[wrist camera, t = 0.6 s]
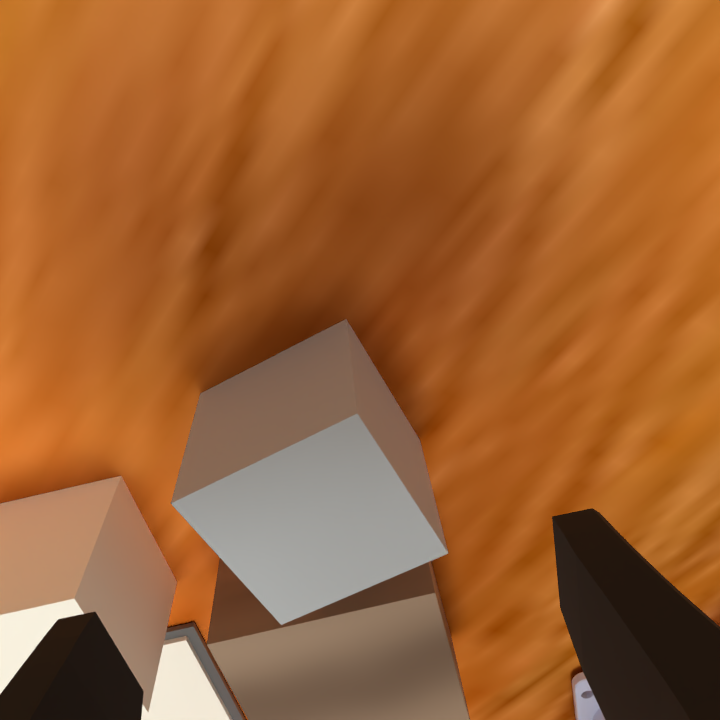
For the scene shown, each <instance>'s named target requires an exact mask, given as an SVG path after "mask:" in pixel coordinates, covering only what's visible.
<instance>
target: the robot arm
mask: <svg viewBox="0 0 720 720" xmlns="http://www.w3.org/2000/svg"><path fill="white" fill-rule="evenodd" d="M552 519H553V531H554V542H555V553H556V565H557V576H558V587H559V598H560V608H561V611H562V614H563V616H564V619H565V622H566V625H567V628H568V631H569V634H570V637H571V640H572V642H573V645H574V648H575V651H576V653H577V656H578V659H579V662H580V665H581V667H582V670H583V672H581V673H578V674H577V675H575V676H574V678H573V679H572V689H573V698H574V707H575V717H576V720H720V627H719V626H718V625H717V624H716V623H715V622H714V621H713V620H711V619H710V618H709V617H708V616H707V615H706V614H705V613H703V612H702V611H701V610H700V609H699V608H698V607H697V606H696V605H694V604H693V603H692V602H691V601H690V600H689V599H688V598H686V597H685V596H684V595H683V594H682V593H681V592H680V591H679V590H677V589H676V588H675V587H674V586H673V585H672V584H671V583H670V582H669V581H668V580H667V579H666V578H664V577H663V576H662V575H661V574H660V573H659V572H658V571H657V570H656V569H655V568H654V567H653V566H652V565H651V564H650V563H649V562H648V561H647V560H646V559H644V558H643V557H642V556H641V555H640V554H639V553H638V552H637V551H636V550H635V549H634V548H633V547H632V546H631V545H630V544H629V543H628V542H627V541H626V540H625V539H624V538H623V537H622V536H621V535H620V534H619V533H618V532H617V531H616V530H615V529H614V527H613V526H612V525H611V524H610V523H609V522H608V521H607V520H606V519H605V518H604V517H603V516H602V515H601V514H600V513H599V512H597V511H596V510H594V509H587V510H582V511H577V512H572V513H568V514H563V515H558V516H553V517H552ZM143 694H144V691H143V689H142V688H141V686H140V684H139V683H138V681H137V679H136V678H135V676H134V674H133V673H132V671H131V669H130V668H129V666H128V664H127V663H126V661H125V660H124V658H123V656H122V655H121V653H120V651H119V650H118V648H117V646H116V645H115V643H114V641H113V640H112V638H111V636H110V635H109V633H108V631H107V630H106V628H105V627H104V625H103V623H102V622H101V620H100V618H99V617H98V615H97V613H96V612H90V613H86V614H81V615H76V616H71V617H66V618H61V619H58V620H57V621H56V622H55V624H54V625H53V626H52V627H51V629H50V630H49V631H48V632H47V634H46V635H45V636H44V637H43V639H42V640H41V641H40V643H39V644H38V645H37V646H36V648H35V649H34V650H33V652H32V653H31V654H30V656H29V657H28V658H27V660H26V661H25V662H24V663H23V665H22V666H21V667H20V669H19V670H18V671H17V673H16V674H15V675H14V677H13V678H12V679H11V681H10V682H9V683H8V685H7V686H6V687H5V689H4V690H3V691H2V693H1V694H0V720H141V716H142V705H143Z"/></svg>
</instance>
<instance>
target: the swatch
mask: <svg viewBox="0 0 720 720" xmlns="http://www.w3.org/2000/svg"><path fill="white" fill-rule="evenodd" d="M141 720H246V719H245V717H244V715H243V713H242V711H241V709H240V707H239V705H238V704H237V702H236V700H235V698H234V696H233V694H232V692H231V690H230V688H229V687H228V685H227V683H226V681H225V679H224V677H223V675H222V673H221V671H220V670H219V668H218V666H217V664H216V662H215V660H214V658H213V656H212V654H211V653H210V651H209V649H208V647H207V645H206V643H205V641H204V639H203V637H202V636H201V634H200V632H199V630H198V628H197V626H196V624H195V622H192V623H188V624H183V625H178V626H174V627H169V628H167V630H166V635H165V639H164V644H163V648H162V653H161V658H160V662H159V667H158V671H157V676H156V680H155V685H154V690H153V694H152V699H151V703H150V708H149V712H148V713H146V714H142V716H141Z"/></svg>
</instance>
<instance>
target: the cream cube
mask: <svg viewBox="0 0 720 720" xmlns="http://www.w3.org/2000/svg"><path fill="white" fill-rule="evenodd" d="M176 584H177V581H176V579H175V577H174V575H173V573H172V571H171V570H170V568H169V566H168V564H167V562H166V560H165V558H164V556H163V554H162V552H161V551H160V549H159V547H158V545H157V543H156V541H155V539H154V537H153V535H152V533H151V531H150V530H149V528H148V526H147V524H146V522H145V520H144V518H143V516H142V514H141V512H140V510H139V509H138V507H137V505H136V503H135V501H134V499H133V497H132V495H131V493H130V491H129V489H128V488H127V486H126V484H125V482H124V480H123V478H122V476H118V477H114V478H109V479H105V480H101V481H96V482H92V483H87V484H83V485H79V486H74V487H70V488H66V489H61V490H57V491H53V492H48V493H44V494H40V495H35V496H31V497H27V498H22V499H18V500H13V501H9V502H5V503H0V694H1V693H2V691H3V690H4V689H5V687H6V686H7V685H8V683H9V682H10V681H11V679H12V678H13V677H14V675H15V674H16V673H17V671H18V670H19V669H20V667H21V666H22V665H23V663H24V662H25V661H26V660H27V658H28V657H29V656H30V654H31V653H32V652H33V650H34V649H35V648H36V646H37V645H38V644H39V643H40V641H41V640H42V639H43V637H44V636H45V635H46V634H47V632H48V631H49V630H50V629H51V627H52V626H53V625H54V624H55V622H56V621H57V620H58V619H61V618H66V617H71V616H76V615H81V614H86V613H90V612H96V613H97V615H98V617H99V618H100V620H101V622H102V623H103V625H104V627H105V628H106V630H107V631H108V633H109V635H110V636H111V638H112V640H113V641H114V643H115V645H116V646H117V648H118V650H119V651H120V653H121V655H122V656H123V658H124V660H125V661H126V663H127V664H128V666H129V668H130V669H131V671H132V673H133V674H134V676H135V678H136V679H137V681H138V683H139V684H140V686H141V688H142V689H143V691H144V694H143V705H142V714H146V713H148V712H149V708H150V703H151V699H152V694H153V690H154V685H155V680H156V676H157V671H158V667H159V662H160V658H161V653H162V648H163V644H164V639H165V635H166V630H167V625H168V621H169V616H170V612H171V607H172V603H173V598H174V593H175V589H176Z"/></svg>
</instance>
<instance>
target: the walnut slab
mask: <svg viewBox="0 0 720 720" xmlns="http://www.w3.org/2000/svg"><path fill="white" fill-rule="evenodd" d="M207 646H208V648H209V650H210V651H211V653H212V655H213V657H214V659H215V660H216V662H217V664H218V666H219V668H220V669H221V671H222V673H223V675H224V677H225V678H226V680H227V682H228V684H229V686H230V687H231V689H232V691H233V693H234V695H235V696H236V698H237V700H238V702H239V704H240V705H241V707H242V709H243V711H244V713H245V714H246V716H247V718H248V720H470V718H469V713H468V709H467V704H466V700H465V696H464V691H463V687H462V682H461V678H460V673H459V669H458V665H457V660H456V656H455V651H454V647H453V642H452V638H451V634H450V630H449V626H448V623H447V619H446V615H445V611H444V608H443V604H442V600H441V596H440V593H439V589H438V585H437V581H436V578H435V574H434V570H433V566H432V563H431V561H429V562H427V563H425V564H422V565H420V566H418V567H415V568H413V569H411V570H408V571H406V572H404V573H401V574H399V575H397V576H394V577H392V578H390V579H387V580H385V581H383V582H380V583H378V584H376V585H373V586H371V587H369V588H366V589H364V590H362V591H359V592H357V593H355V594H352V595H350V596H348V597H345V598H343V599H341V600H338V601H336V602H334V603H331V604H329V605H327V606H324V607H322V608H320V609H317V610H315V611H313V612H310V613H308V614H306V615H303V616H301V617H299V618H296V619H294V620H292V621H289V622H287V623H285V624H282V625H281V624H280V623H279V622H278V621H277V620H276V619H275V618H274V616H273V615H272V614H271V613H270V612H269V611H268V610H267V609H266V608H265V607H264V605H263V604H262V603H261V602H260V601H259V600H258V599H257V598H256V597H255V596H254V594H253V593H252V592H251V591H250V590H249V589H248V588H247V587H246V586H245V585H244V583H243V582H242V581H241V580H240V579H239V578H238V577H237V576H236V575H235V574H234V572H233V571H232V570H231V569H230V568H229V567H228V566H227V565H226V564H225V563H224V561H223V560H222V559H221V558H220V561H219V568H218V574H217V581H216V587H215V594H214V601H213V607H212V614H211V620H210V627H209V634H208V640H207Z"/></svg>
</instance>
